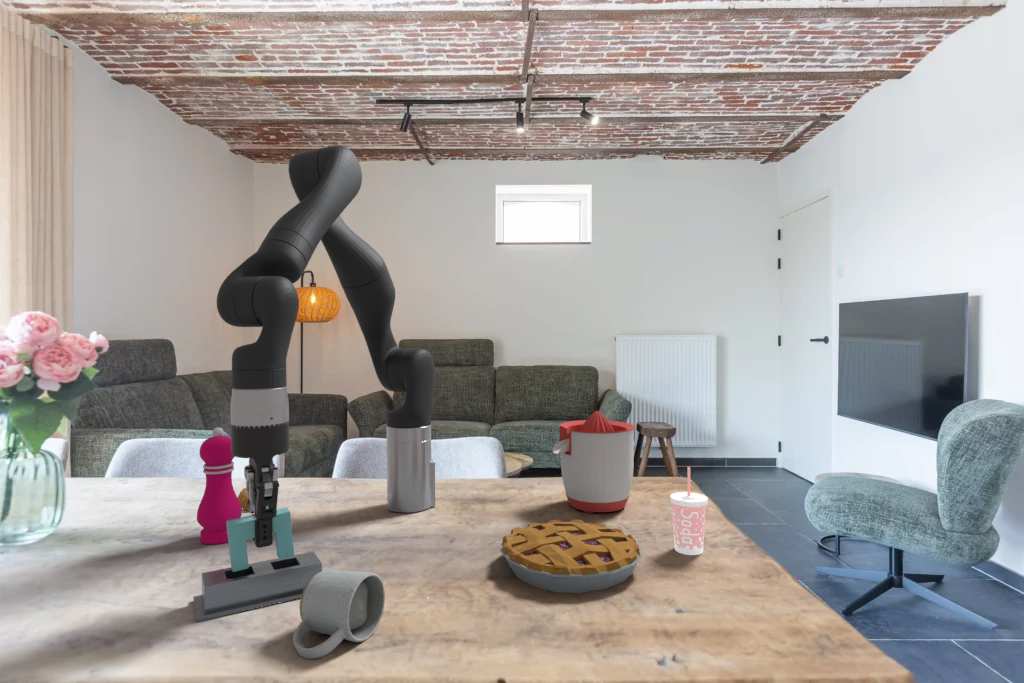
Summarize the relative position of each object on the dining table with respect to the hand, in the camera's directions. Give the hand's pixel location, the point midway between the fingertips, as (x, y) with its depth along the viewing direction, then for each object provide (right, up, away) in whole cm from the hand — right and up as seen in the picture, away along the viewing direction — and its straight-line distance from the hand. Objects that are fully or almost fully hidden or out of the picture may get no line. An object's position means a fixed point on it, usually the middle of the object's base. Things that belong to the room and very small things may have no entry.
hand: (262, 542), depth 84 cm
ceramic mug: (+14, -8, -11) cm, 20 cm away
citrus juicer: (+52, -7, +42) cm, 67 cm away
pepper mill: (-17, -7, +24) cm, 30 cm away
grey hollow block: (0, -8, 0) cm, 8 cm away
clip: (0, -3, 0) cm, 3 cm away
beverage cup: (+65, -7, +17) cm, 67 cm away
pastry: (-20, -7, +44) cm, 49 cm away
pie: (+44, -8, +10) cm, 46 cm away
